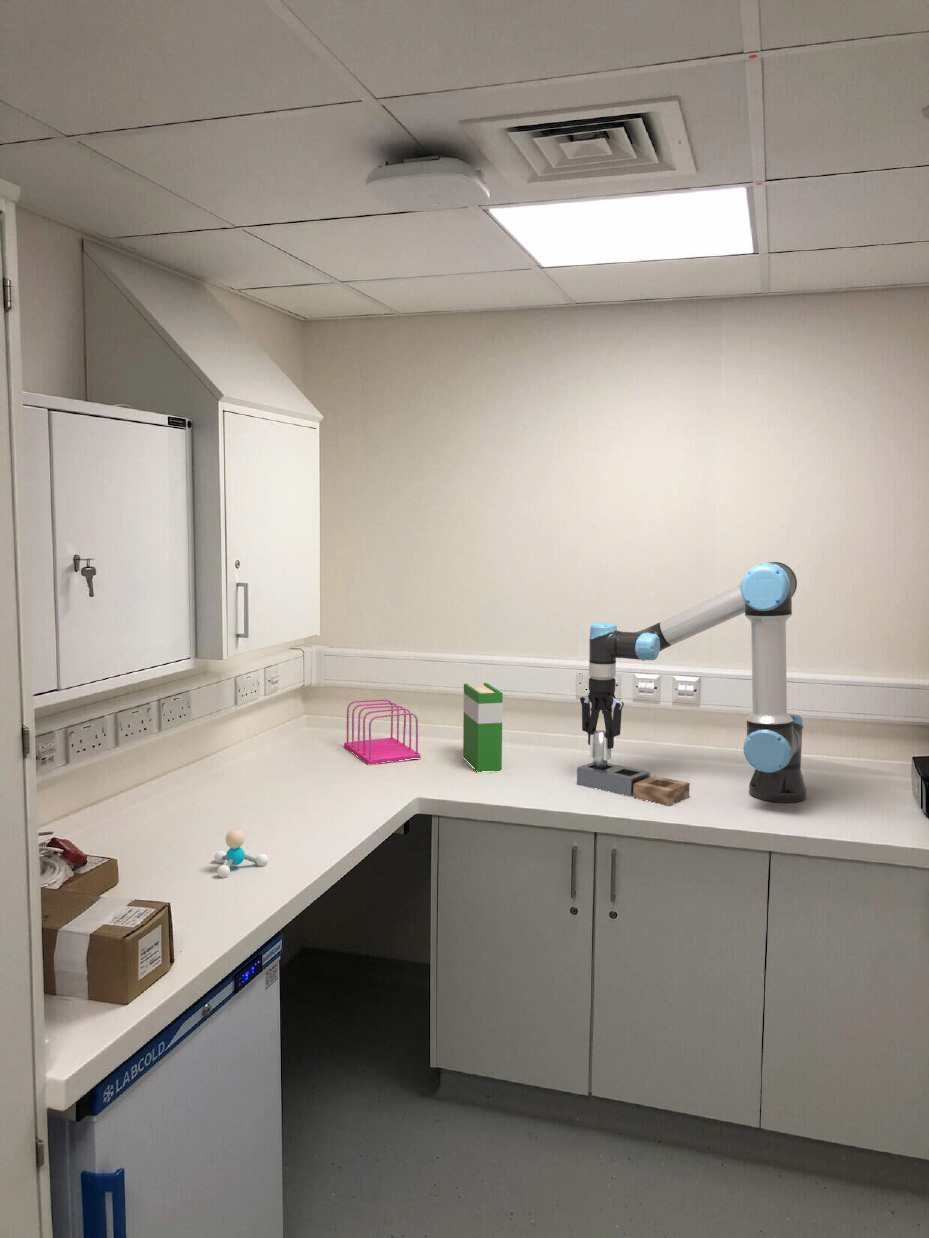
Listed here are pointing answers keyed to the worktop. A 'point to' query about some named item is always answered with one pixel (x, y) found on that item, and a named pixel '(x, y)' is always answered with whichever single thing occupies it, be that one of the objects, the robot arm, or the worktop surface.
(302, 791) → the worktop surface
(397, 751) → the file sorter
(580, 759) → the worktop surface
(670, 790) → the walnut socket block
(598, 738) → the silver metal cylinder
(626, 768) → the block
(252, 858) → the molecule model
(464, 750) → the hardback book
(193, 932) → the worktop surface
